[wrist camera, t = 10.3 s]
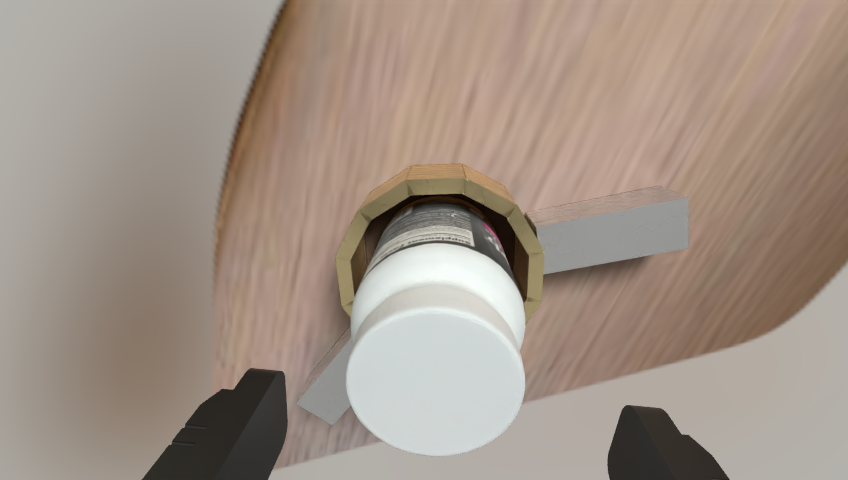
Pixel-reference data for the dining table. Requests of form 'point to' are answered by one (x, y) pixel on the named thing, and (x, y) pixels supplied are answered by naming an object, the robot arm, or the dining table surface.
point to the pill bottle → (437, 332)
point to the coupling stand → (534, 248)
